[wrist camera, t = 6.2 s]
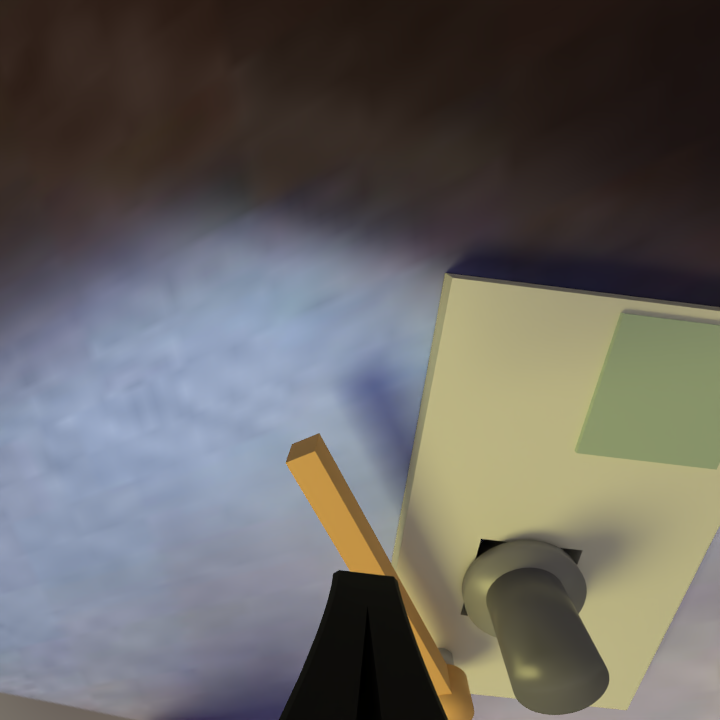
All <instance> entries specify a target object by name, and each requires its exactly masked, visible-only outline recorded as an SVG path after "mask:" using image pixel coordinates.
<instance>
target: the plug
mask: <svg viewBox="0 0 720 720" xmlns="http://www.w3.org/2000/svg"><path fill="white" fill-rule="evenodd" d="M586 594H587V586H586V582H585V579H584V577H583V574H582V573H581V571H580V569H579V568H578V566H577V564H576V563H575V561H574V560H573V559H572V557H571V556H570V555H569V554H568V553H566V552H565V551H564V550H562V549H561V548H559V547H557V546H555V545H552V544H550V543H546V542H543V541H537V540H518V541H511V542H505V541H496V540H487V539H486V540H485V541H483V542H482V543H481V544H480V546H479V548H478V552H477V555H476V559H475V561H474V562H473V563H472V564H471V565H470V567H469V568H468V570H467V572H466V573H465V576H464V578H463V582H462V596H463V601H464V605H465V609H466V612H467V614H468V616H469V618H470V620H471V621H472V622H473V623H474V624H475V625H476V626H477V627H478V628H479V629H480V630H482V631H483V632H485V633H487V634H489V635H491V636H493V637H496V638H497V640H498V644H499V647H500V650H501V654H502V657H503V660H504V663H505V667H506V670H507V673H508V676H509V680H510V683H511V686H512V689H513V692H514V695H515V697H516V699H517V700H518V701H519V702H520V703H521V704H522V705H523V706H525V707H526V708H528V709H530V710H532V711H535V712H538V713H542V714H549V715H561V714H568V713H573V712H577V711H580V710H582V709H584V708H587V707H589V706H590V705H592V704H593V703H595V702H596V701H597V700H598V699H600V698H601V697H602V695H603V694H604V693H605V691H606V689H607V687H608V685H609V672H608V669H607V667H606V665H605V663H604V661H603V659H602V658H601V656H600V654H599V652H598V650H597V648H596V646H595V644H594V643H593V641H592V639H591V637H590V635H589V633H588V631H587V629H586V628H585V626H584V624H583V622H582V620H581V618H580V616H579V613H580V611H581V610H582V608H583V605H584V603H585V600H586Z"/></svg>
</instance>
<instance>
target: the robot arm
mask: <svg viewBox="0 0 720 720" xmlns="http://www.w3.org/2000/svg"><path fill="white" fill-rule="evenodd" d="M279 720H448V718H447V716H446V713H445V711H444V709H443V706H442V704H441V702H440V699H439V697H438V695H437V692H436V690H435V687H434V685H433V683H432V680H431V678H430V675H429V673H428V670H427V668H426V665H425V663H424V660H423V658H422V655H421V652H420V650H419V647H418V645H417V642H416V639H415V636H414V633H413V630H412V628H411V625H410V622H409V619H408V616H407V613H406V610H405V606H404V603H403V600H402V596H401V592H400V589H399V585H398V581H397V580H396V579H395V577H394V576H385V575H376V574H368V573H359V572H350V571H341V570H339V571H337V572H335V573H334V574H333V579H332V585H331V590H330V594H329V598H328V601H327V605H326V608H325V611H324V614H323V617H322V620H321V623H320V626H319V629H318V631H317V634H316V636H315V639H314V641H313V644H312V646H311V649H310V651H309V654H308V656H307V659H306V661H305V664H304V666H303V669H302V671H301V673H300V676H299V678H298V680H297V682H296V684H295V686H294V689H293V691H292V693H291V695H290V697H289V699H288V701H287V704H286V706H285V708H284V710H283V712H282V714H281V716H280V719H279Z"/></svg>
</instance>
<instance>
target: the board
mask: <svg viewBox="0 0 720 720" xmlns="http://www.w3.org/2000/svg"><path fill="white" fill-rule="evenodd" d="M719 526H720V307H714V306H706V305H698V304H690V303H682V302H674V301H666V300H658V299H650V298H642V297H634V296H626V295H618V294H610V293H602V292H594V291H586V290H578V289H570V288H562V287H554V286H546V285H538V284H530V283H522V282H514V281H506V280H498V279H490V278H482V277H474V276H466V275H458V274H450V273H445V277H444V282H443V288H442V293H441V299H440V304H439V309H438V315H437V320H436V325H435V331H434V336H433V342H432V347H431V352H430V358H429V363H428V369H427V374H426V379H425V385H424V390H423V396H422V401H421V406H420V412H419V417H418V422H417V428H416V433H415V439H414V444H413V449H412V455H411V460H410V466H409V471H408V476H407V482H406V487H405V493H404V498H403V503H402V509H401V514H400V519H399V525H398V530H397V536H396V541H395V546H394V552H393V557H392V563H391V564H392V566H393V568H394V570H395V572H396V573H397V575H398V577H399V579H400V581H401V582H402V584H403V586H404V588H405V590H406V592H407V593H408V595H409V597H410V599H411V601H412V602H413V604H414V606H415V608H416V610H417V611H418V613H419V615H420V617H421V619H422V621H423V622H424V624H425V626H426V628H427V630H428V631H429V633H430V635H431V637H432V639H433V640H434V642H435V644H436V646H437V648H438V650H439V651H440V653H441V655H442V657H443V659H444V660H445V662H446V664H451V665H454V666H457V667H459V668H460V669H462V670H463V671H464V672H465V674H466V676H467V680H468V685H469V689H470V694H478V695H488V696H497V697H507V698H516V697H515V695H514V692H513V689H512V686H511V683H510V680H509V676H508V673H507V670H506V667H505V663H504V660H503V657H502V654H501V650H500V647H499V644H498V640H497V638H496V637H493V636H491V635H489V634H487V633H485V632H483V631H482V630H480V629H479V628H478V627H477V626H476V625H475V624H474V623H473V622H472V621H471V620H470V618H469V616H468V614H467V612H466V609H465V605H464V601H463V596H462V582H463V578H464V576H465V573H466V572H467V570H468V568H469V567H470V565H471V564H472V563H473V562H474V561H475V559H476V555H477V552H478V548H479V544H480V541H481V539H487V540H496V541H505V542H511V541H518V540H537V541H543V542H546V543H550V544H552V545H555V546H557V547H559V548H561V549H562V550H564V551H565V552H566V553H568V554H569V555H570V556H571V557H572V559H573V560H574V561H575V563H576V564H577V566H578V568H579V569H580V571H581V573H582V574H583V577H584V579H585V582H586V586H587V594H586V600H585V603H584V605H583V608H582V610H581V611H580V613H579V616H580V618H581V620H582V622H583V624H584V626H585V628H586V629H587V631H588V633H589V635H590V637H591V639H592V641H593V643H594V644H595V646H596V648H597V650H598V652H599V654H600V656H601V658H602V659H603V661H604V663H605V665H606V667H607V669H608V672H609V685H608V687H607V689H606V691H605V693H604V694H603V695H602V697H601V698H600V699H598V700H597V701H596V702H595V703H593V704H592V705H590V706H592V707H601V708H611V709H620V710H627V709H628V707H629V705H630V703H631V701H632V699H633V697H634V695H635V693H636V691H637V689H638V687H639V685H640V683H641V681H642V679H643V677H644V675H645V673H646V671H647V669H648V667H649V665H650V663H651V661H652V659H653V657H654V655H655V653H656V651H657V649H658V647H659V645H660V643H661V641H662V639H663V637H664V635H665V633H666V631H667V629H668V627H669V625H670V623H671V621H672V619H673V617H674V615H675V613H676V611H677V609H678V607H679V605H680V603H681V601H682V599H683V597H684V595H685V593H686V591H687V589H688V587H689V585H690V583H691V581H692V579H693V577H694V575H695V573H696V571H697V569H698V567H699V565H700V563H701V561H702V559H703V557H704V555H705V553H706V551H707V549H708V547H709V545H710V543H711V542H712V540H713V538H714V536H715V534H716V532H717V530H718V528H719Z"/></svg>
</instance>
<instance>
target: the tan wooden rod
mask: <svg viewBox="0 0 720 720" xmlns="http://www.w3.org/2000/svg"><path fill="white" fill-rule="evenodd" d="M286 464H287V466H288V468H289V469H290V471H291V473H292V474H293V476H294V478H295V479H296V481H297V483H298V484H299V486H300V488H301V489H302V491H303V493H304V494H305V496H306V498H307V500H308V501H309V503H310V505H311V506H312V508H313V510H314V511H315V513H316V515H317V516H318V518H319V520H320V521H321V523H322V525H323V526H324V528H325V530H326V531H327V533H328V535H329V536H330V538H331V540H332V541H333V543H334V545H335V546H336V548H337V550H338V552H339V553H340V555H341V557H342V558H343V560H344V562H345V563H346V565H347V567H348V568H349V570H350V572H359V573H368V574H376V575H385V576H394V577H395V579H396V580H397V581H398V585H399V589H400V592H401V596H402V600H403V603H404V606H405V610H406V613H407V616H408V619H409V622H410V625H411V628H412V630H413V633H414V636H415V639H416V642H417V645H418V647H419V650H420V652H421V655H422V658H423V660H424V663H425V665H426V668H427V670H428V673H429V675H430V678H431V680H432V683H433V685H434V687H435V690H436V692H437V695H438V697H439V699H440V702H441V704H442V706H443V709H444V711H445V713H446V716H447V718H448V720H472V718H473V716H474V708H473V703H472V699H471V694H470V689H469V685H468V680H467V676H466V674H465V672H464V671H463V670H462V669H460V668H459V667H457V666H454V665H451V664H446V662H445V660H444V659H443V657H442V655H441V653H440V651H439V650H438V648H437V646H436V644H435V642H434V640H433V639H432V637H431V635H430V633H429V631H428V630H427V628H426V626H425V624H424V622H423V621H422V619H421V617H420V615H419V613H418V611H417V610H416V608H415V606H414V604H413V602H412V601H411V599H410V597H409V595H408V593H407V592H406V590H405V588H404V586H403V584H402V582H401V581H400V579H399V577H398V575H397V573H396V572H395V570H394V568H393V566H392V564H391V563H390V561H389V559H388V557H387V555H386V553H385V552H384V550H383V548H382V546H381V544H380V543H379V541H378V539H377V537H376V535H375V534H374V532H373V530H372V528H371V526H370V524H369V523H368V521H367V519H366V517H365V515H364V514H363V512H362V510H361V508H360V506H359V505H358V503H357V501H356V499H355V497H354V495H353V494H352V492H351V490H350V488H349V486H348V485H347V483H346V481H345V479H344V477H343V476H342V474H341V472H340V470H339V468H338V467H337V465H336V463H335V461H334V459H333V457H332V456H331V454H330V452H329V450H328V448H327V447H326V445H325V443H324V441H323V439H322V438H321V436H320V434H316V435H314V436H311V437H309V438H306V439H304V440H301V441H299V442H296V443H294V444H292V446H291V449H290V452H289V455H288V457H287V460H286Z"/></svg>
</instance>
